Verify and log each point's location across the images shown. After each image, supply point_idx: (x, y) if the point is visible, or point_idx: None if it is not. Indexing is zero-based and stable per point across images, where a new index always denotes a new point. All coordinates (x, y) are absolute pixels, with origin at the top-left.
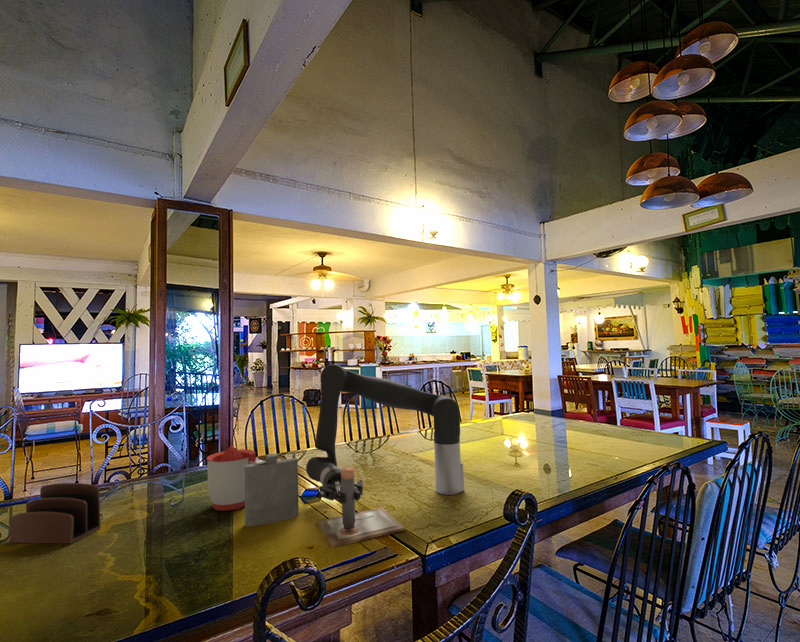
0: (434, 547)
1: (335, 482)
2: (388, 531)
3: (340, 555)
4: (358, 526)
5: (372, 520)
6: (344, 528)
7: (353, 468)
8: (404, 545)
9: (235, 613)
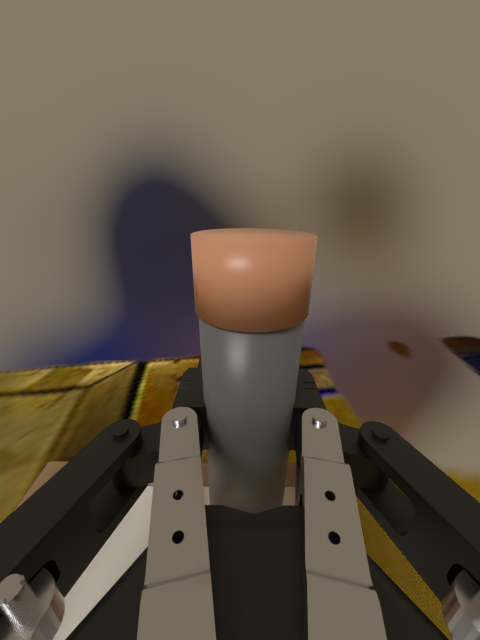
0: (97, 371)
1: (372, 610)
2: None
3: None
4: None
5: (66, 628)
6: None
7: (202, 232)
8: (137, 398)
9: (469, 353)
